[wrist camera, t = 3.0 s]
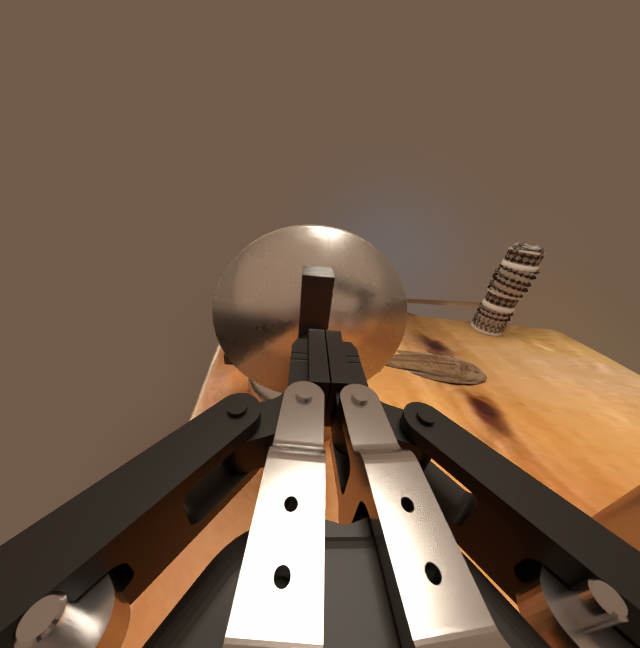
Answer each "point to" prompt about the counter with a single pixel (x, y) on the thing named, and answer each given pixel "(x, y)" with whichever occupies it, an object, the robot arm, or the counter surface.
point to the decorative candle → (507, 288)
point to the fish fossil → (438, 367)
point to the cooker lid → (307, 300)
